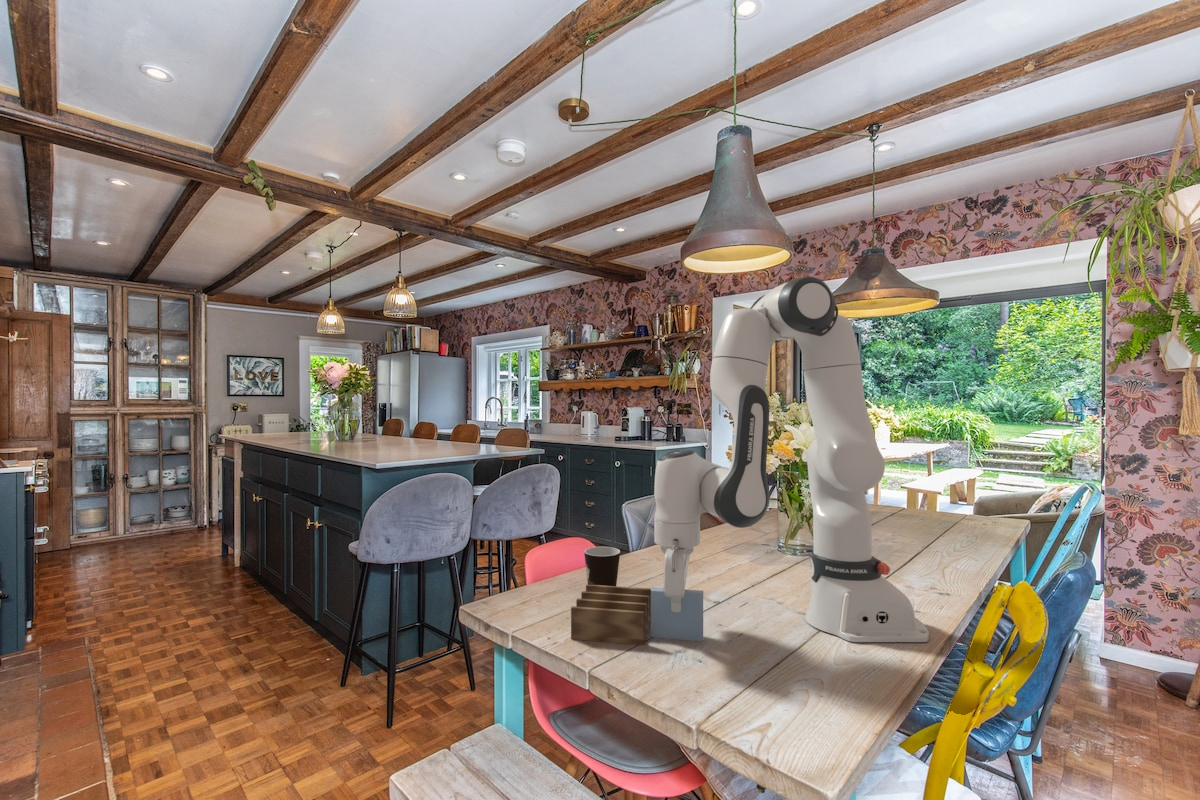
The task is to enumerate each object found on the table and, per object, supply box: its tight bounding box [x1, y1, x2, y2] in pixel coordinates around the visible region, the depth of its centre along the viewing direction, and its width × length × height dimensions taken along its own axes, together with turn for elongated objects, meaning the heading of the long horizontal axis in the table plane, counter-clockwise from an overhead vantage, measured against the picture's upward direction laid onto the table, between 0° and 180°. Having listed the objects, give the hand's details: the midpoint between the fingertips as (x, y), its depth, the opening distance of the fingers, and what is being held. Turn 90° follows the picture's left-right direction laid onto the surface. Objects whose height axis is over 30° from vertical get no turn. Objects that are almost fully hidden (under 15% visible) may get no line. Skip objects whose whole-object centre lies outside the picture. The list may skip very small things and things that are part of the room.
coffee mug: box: [583, 546, 621, 586], centre depth 134 cm, size 12×9×10 cm
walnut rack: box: [570, 583, 652, 646], centre depth 112 cm, size 14×14×6 cm
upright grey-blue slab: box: [650, 587, 704, 642], centre depth 108 cm, size 10×2×9 cm, turn 79°
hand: (677, 605), depth 108 cm, fingers open, 5 cm apart
